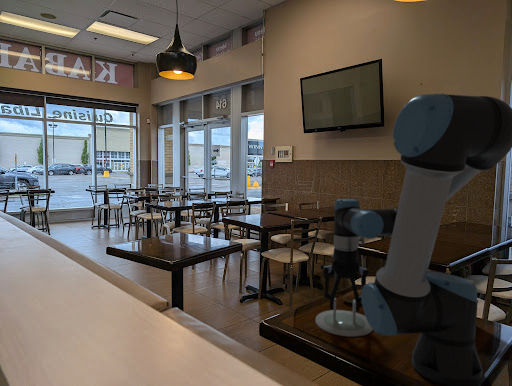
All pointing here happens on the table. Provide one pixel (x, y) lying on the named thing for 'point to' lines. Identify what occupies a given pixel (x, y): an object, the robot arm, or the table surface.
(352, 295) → the pastry
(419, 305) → the robot arm
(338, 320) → the serving plate
